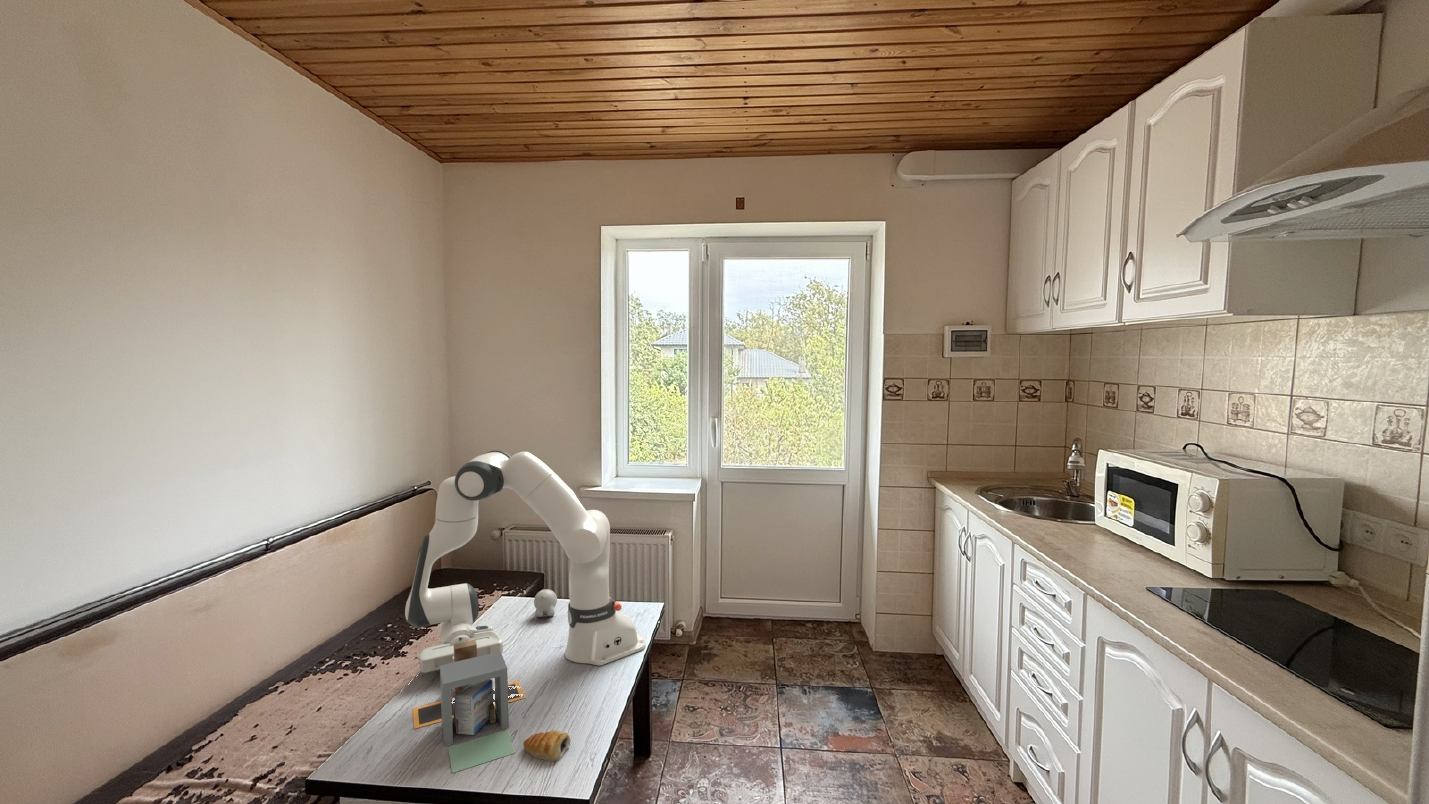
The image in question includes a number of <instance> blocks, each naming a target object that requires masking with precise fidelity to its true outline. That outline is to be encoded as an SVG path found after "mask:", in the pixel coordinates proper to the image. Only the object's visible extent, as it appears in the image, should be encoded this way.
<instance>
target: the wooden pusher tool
mask: <svg viewBox="0 0 1429 804" xmlns="http://www.w3.org/2000/svg"><path fill="white" fill-rule="evenodd" d="M474 657H477V644H476V641H475V640H471V641H467V642H462V643H458V644H454V662H457V661H461V660H466V659H470V658H474ZM466 686H468V685H465V686H461V687H457V688H454V689H455V693H456V694H458V693H459V692H461V691H462V690H463V689H464V688H465V687H466ZM453 715H454V718H453V720H454V725H455V730H456V729H457V733H456V734H458V719H455V703H453ZM489 722H490V724H492V723H496V706H495V707H494V704H493V702H492V703H491V704H490V705H489Z"/></svg>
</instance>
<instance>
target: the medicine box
mask: <svg viewBox="0 0 1429 804" xmlns="http://www.w3.org/2000/svg"><path fill="white" fill-rule="evenodd" d="M493 684H494V683H493V679H489V680H485V681H481V682H477V683H473V684H469V685H468V686H466V687H465V688H464V689H463V690H462V691H461V692H458V693H456V695H455V696H454V697H453V698H455V719H458V733H457V729H456V728H455V733H456V734H460V735H470V736H474V735H476V734H477V732H478V731H479V730H480V729H481V728H482V727H484V725H485V724H487V722H488V721H490V719H489V705H490V704H491V703H492V702H493V687H494V685H493Z"/></svg>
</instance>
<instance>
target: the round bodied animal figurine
mask: <svg viewBox="0 0 1429 804" xmlns="http://www.w3.org/2000/svg"><path fill="white" fill-rule="evenodd" d="M557 602H558V597H557V594H556V593H555V592H554V591H553V590H552V589H545V588H544V589H541V590H540V591H538V592H537V593H536V595H534V598H533V605H534V607H535V611H534V617H536V618H543V617H546V616H547V617H553V616H555V613H556V611H555V607H556V605H557Z"/></svg>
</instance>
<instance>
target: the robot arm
mask: <svg viewBox="0 0 1429 804" xmlns="http://www.w3.org/2000/svg"><path fill="white" fill-rule="evenodd" d="M438 487H439V488H438V491H437V497H436V502H435V503H436V504H435V517H434V524H433V527H432V529H431V530H430V531H429V533H427V534H426V535H425V536H423V537H422V539H421V542H420V545H419V549H418V553H417V557H416V561H415V562H416V563H415V567H414V572H413V576H412V582H411V588H410V591H409V594H408V598H407V600H406V604H405V607H404V608H405V609H404V615H405V619H406V622H407V624H409V625H411V626H412V627H414V628H417V629H421V628H425V627H428V626H429V627H430V626H431V625H435V624H440V625H439V640H440V644H437V645H434V646H429V647H426V648H424V649H422V650H421V652H418V653H417V656H416V657H417V660H419V672H420V673H424V674H425V673H429V672H433V671H434V672H435V671H438V670H439V671H440V665H444V664H449V663H453V662H454V644H458V643H462V642H467V641H471V640H475V641H476V644H477V657H478V656H483V655H487V654H491V653H496V652H500V651H501V654H502V655H503V652H504V645H503V639H502V637H501V635H500V634H499V633H498V632H497V631H494V630H493V626H492V625H473V624H474V623H475V622H476V621H477V619H478V616H479V613H480V612H479V611H480V605H479V597H478V594H477V590H476V588H474V586H472V585H471V584H470V583H466V582H465V583H460V584H453V585H448V586H447V585H446V586H441V587H434V588H433V587H432V588H428V586H429V582H430V576H431V573H432V568H433V565H434V563H435V562H436V561H437V560H438V559H440V558H441V557H443V556H444V555H446V554H448V553H450V552H453V551H455V550H457V549H459V548H462V547H464V546H465V545H466V544H467V543H468V542H470V541H471V540H472V539H473V538H474V536H475V535H476V533H477V532H478V525H479V504H480V503H479V501H481V500H484V499H488V498H489V497H492V496H493V495H495V494H497V493H499V492H501V491H502V490H503V489H510V490H512V491H514V492H515V494H517V495H518V496H519V498H521V499H522V501H523V502H524V503H526V505H528V506H529V507H530V509H532V510H533V511H534V512H535V514H537V515H538V517H540V518H541V519H542V521H544V523H545V524H546V526H547V527H548V528H549V530H550V531H551V532H552V534H553V536H554V537H555V538H556V540H557V541H558V542H559V544H560V545H561V547H562V548H563V550H564V552H565V554H566V556H567V558H568V559H570V561H569V563H570V564H569V575H568V586H569V587H568V588H569V592H568V593H569V602H568V605H567V607H568V608H567V622H568V626H569V629H568V636H567V642H566V647H565V650H564V651H565V652H564V656H565V657H566V659H567V660H569V661H571V662H574V663H578V664H591V665H594V666H603V665H605V664H609V663H611V662H613V661H617V660H618V659H619V660H620V659H622V658H625V657H627V656H630V655H632V654H634V653H637V652H640V651H642V650H644V649H645V648H646V641H645V638H644V637H643V636H642V634H640V633H639V632H638V631H637V628H636V625H635V623H634V622H633V620H632V619H630V617H628V616H627V615H625V614H623V613H622V612H620V611H621V610H622V607H623V606H622V604H621V603H620V602H619V601H616V599H614V598H612V597H611V596H610V560H611V559H610V557H611V555H610V554H611V548H610V547H611V525H610V521H609V519H608V517H607V516H606V515H605V513H604V512H603V511H601V510H597V509H588V510H587V509H585V507H584V506H583V505H582V503H581V502H580V500H579V498H578V497H577V495H576V493H575V492H574V490H573V489H572V488H571V487H570V486H569V485H568V484H567V483H565V482H564V481H563V479H562V478H561V477H560V476H559V475H558V474H557V473H555V472H554V470H553V469H551V468H550V466H548V465H547V463H545V462H544V461H542V460H541V459H540V458H538V457H537V456H535V455H534V454H533V453H531V452H529V451H521V452H519V451H518V452H516V453H515V454H513V455H511V454H510V453H508V452H507V451H503V450H498V449H497V450H491V451H488V452H486V453H484V454H480V455H478V456H475V457H474V458H472V459H471V460H469V461H468V462H466V463H465V464H463V465H462V466H461V467H460V468H459V470H458V471H457V472H456V475H454V476H450V477H448V478H445V479H444V480H442V482H441V483H440V484H439V486H438Z"/></svg>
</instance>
